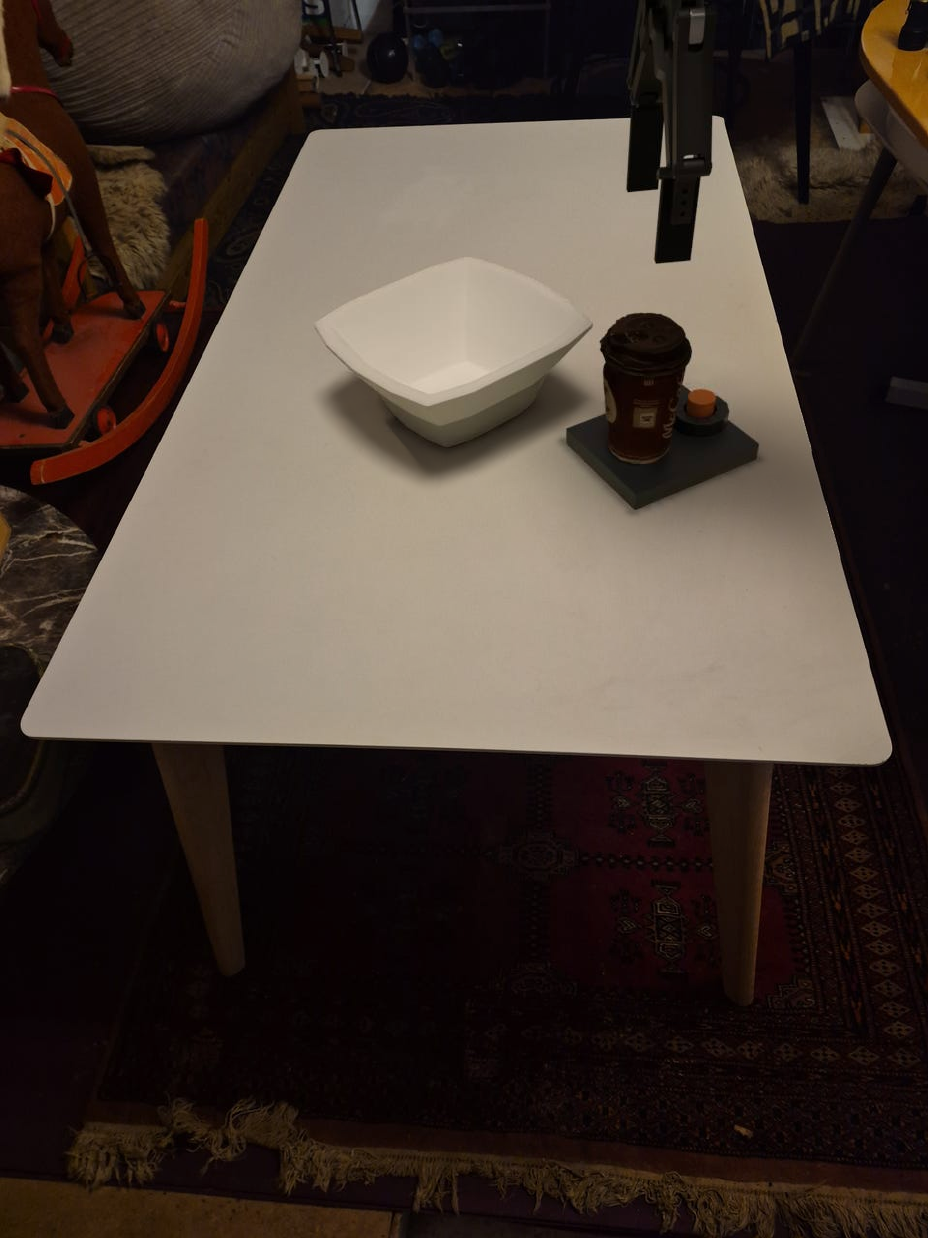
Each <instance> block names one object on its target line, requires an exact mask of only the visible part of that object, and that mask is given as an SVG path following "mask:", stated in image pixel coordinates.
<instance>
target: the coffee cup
mask: <svg viewBox="0 0 928 1238" xmlns="http://www.w3.org/2000/svg"><path fill="white" fill-rule="evenodd" d="M686 335H687V334H686V332H685V329H684V327H682V326H681V325H680V324H678V323H677V322H675V320H673V319H672V318H671V317H669V316H667V315H665V314H662V313H657V312H656V313H655V312H633V313H627V314H626V315H625V316H621V317H619V319H616V320H615V323H614V324H612V325H610V327H609V328H608V329H607V332H606V333H605V334H604V336H602V338H601V339H600V340H599V344H600V348H599V351H600V353H601V354H602V357H603V358H604V364H603V368H602V378H603V381H602V382H603V384H602V385H603V395H604V409H605V413H606V419H607V422H608V425H609V433H608V445H609V448H610V450H611V452H612V454H614V455H615V456H616V457H617V458H618V459H620V460H621V461H625V462H630V463H633V464H638V463H639V464H648V463H652V462H655V461H657V460H658V459H660V458H661V457H663V456H664V455H665V454H666V453H667V452H668V450H669V445H670V442H671V434H672V427H673V424H674V422H675V418H676V409H677V406H678V402H679V397H680V393H681V388H682V385H684V380H685V375H686V370H687V366H688V365H689V364H690V362H691V360H692V355H693V348H692V345H691V342H690V340H689V338H688V337H687V336H686Z"/></svg>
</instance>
